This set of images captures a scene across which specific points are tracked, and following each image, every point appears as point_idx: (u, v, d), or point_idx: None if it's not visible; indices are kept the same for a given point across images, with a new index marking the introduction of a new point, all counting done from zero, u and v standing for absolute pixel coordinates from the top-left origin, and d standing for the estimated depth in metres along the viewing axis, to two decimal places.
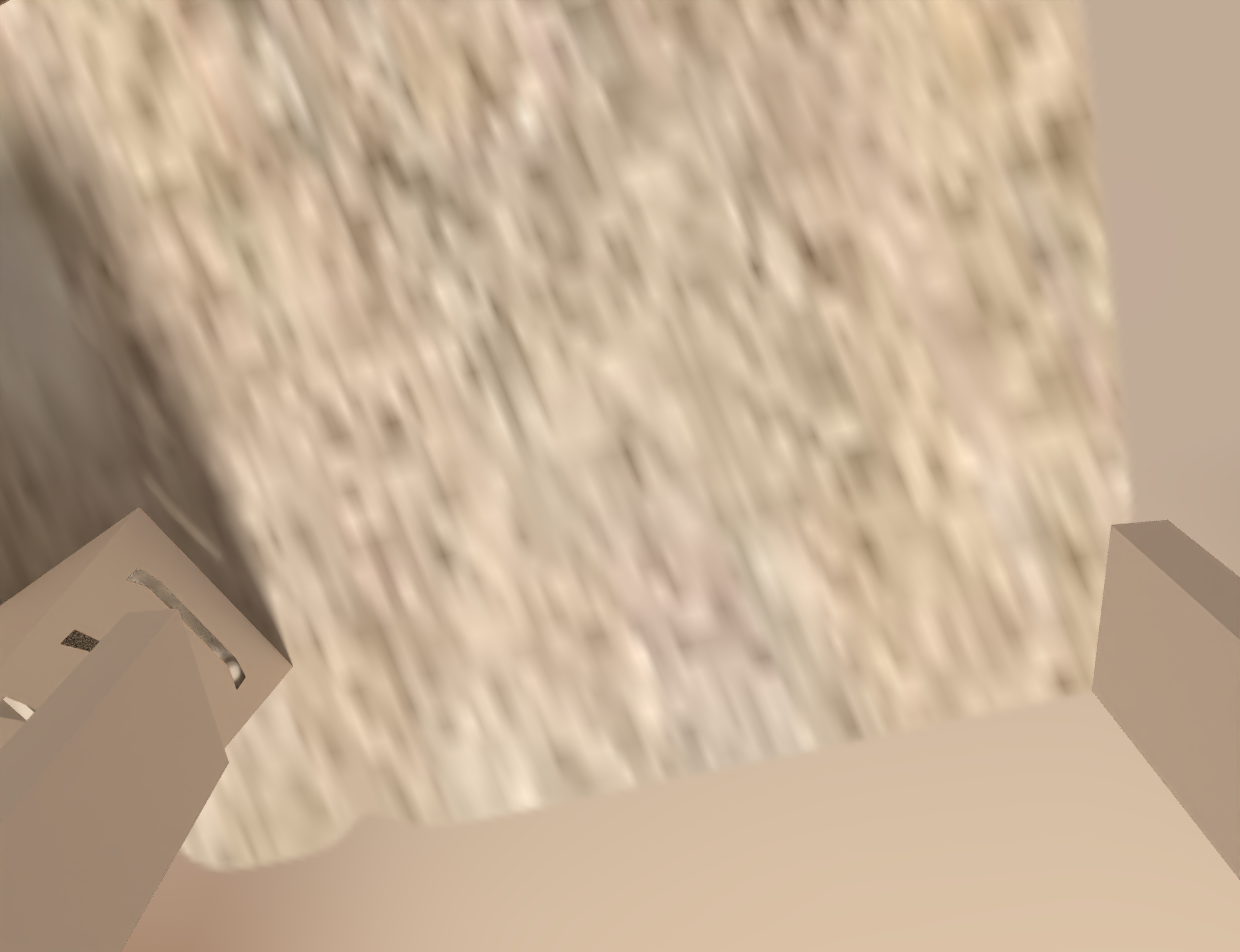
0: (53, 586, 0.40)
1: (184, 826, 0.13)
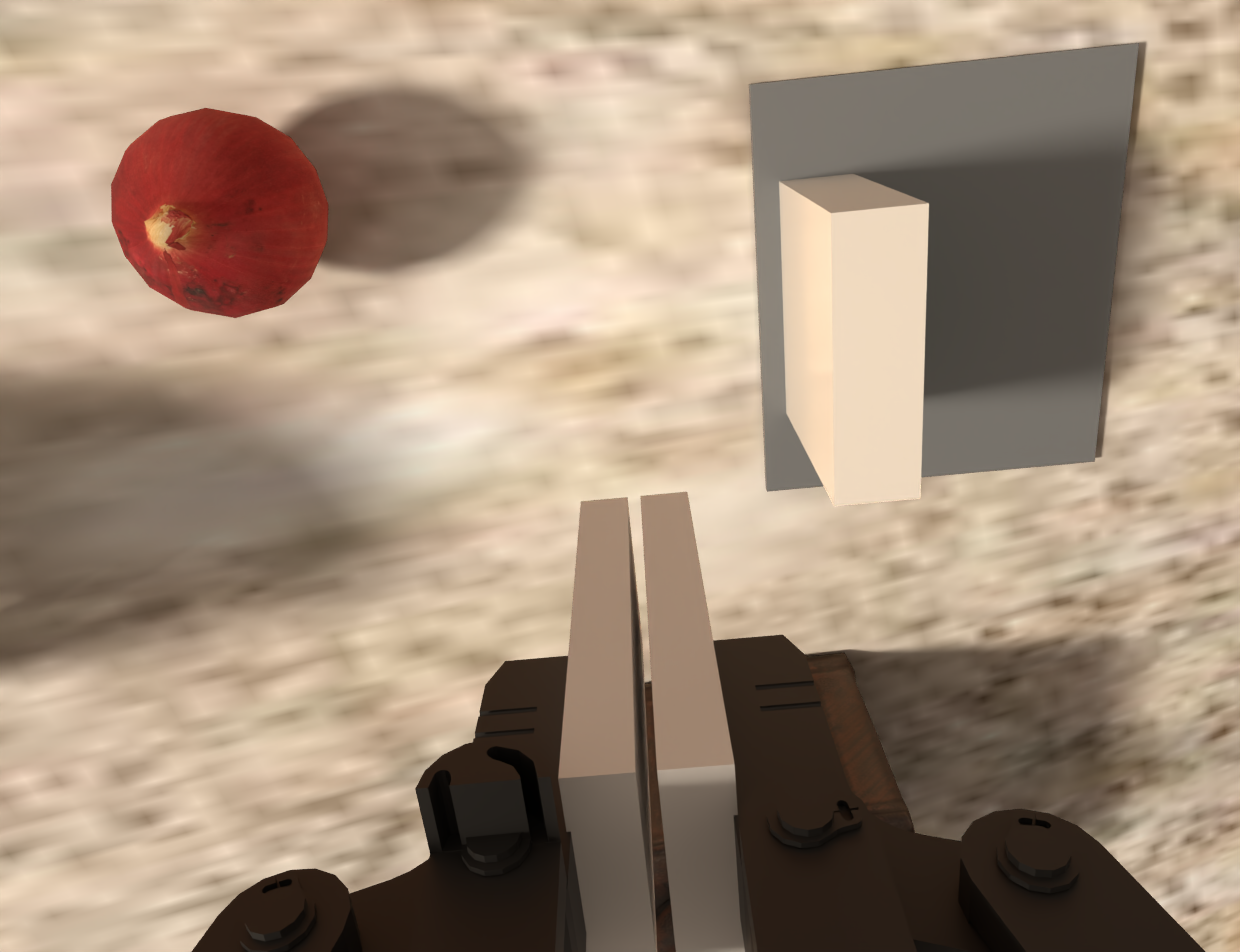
0: None
1: None
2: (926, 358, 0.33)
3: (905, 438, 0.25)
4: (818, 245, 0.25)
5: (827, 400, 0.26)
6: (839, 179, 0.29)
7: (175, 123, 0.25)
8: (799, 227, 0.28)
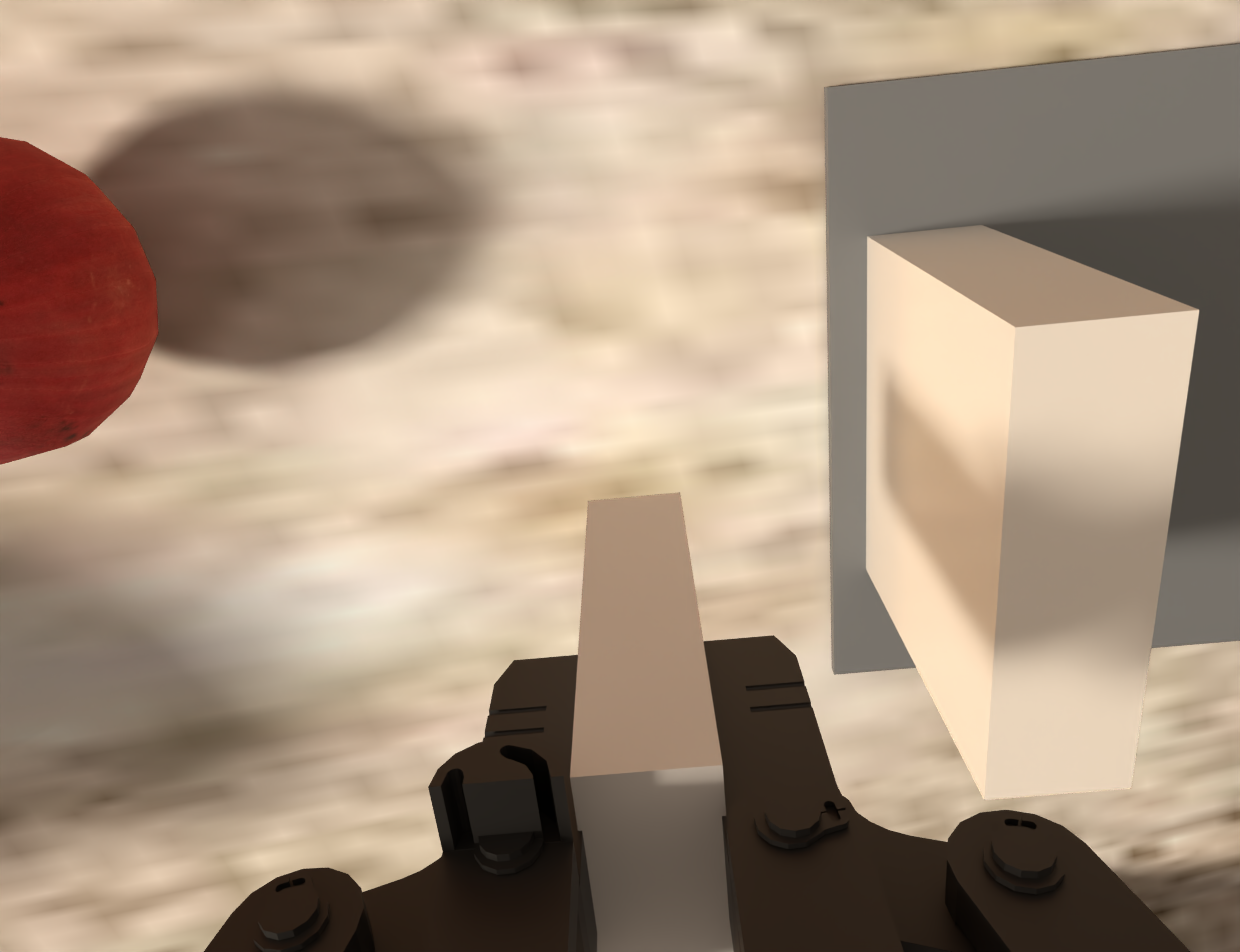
0: None
1: None
2: None
3: (1115, 698, 0.15)
4: (968, 368, 0.14)
5: (977, 627, 0.15)
6: (967, 237, 0.19)
7: None
8: (915, 320, 0.17)
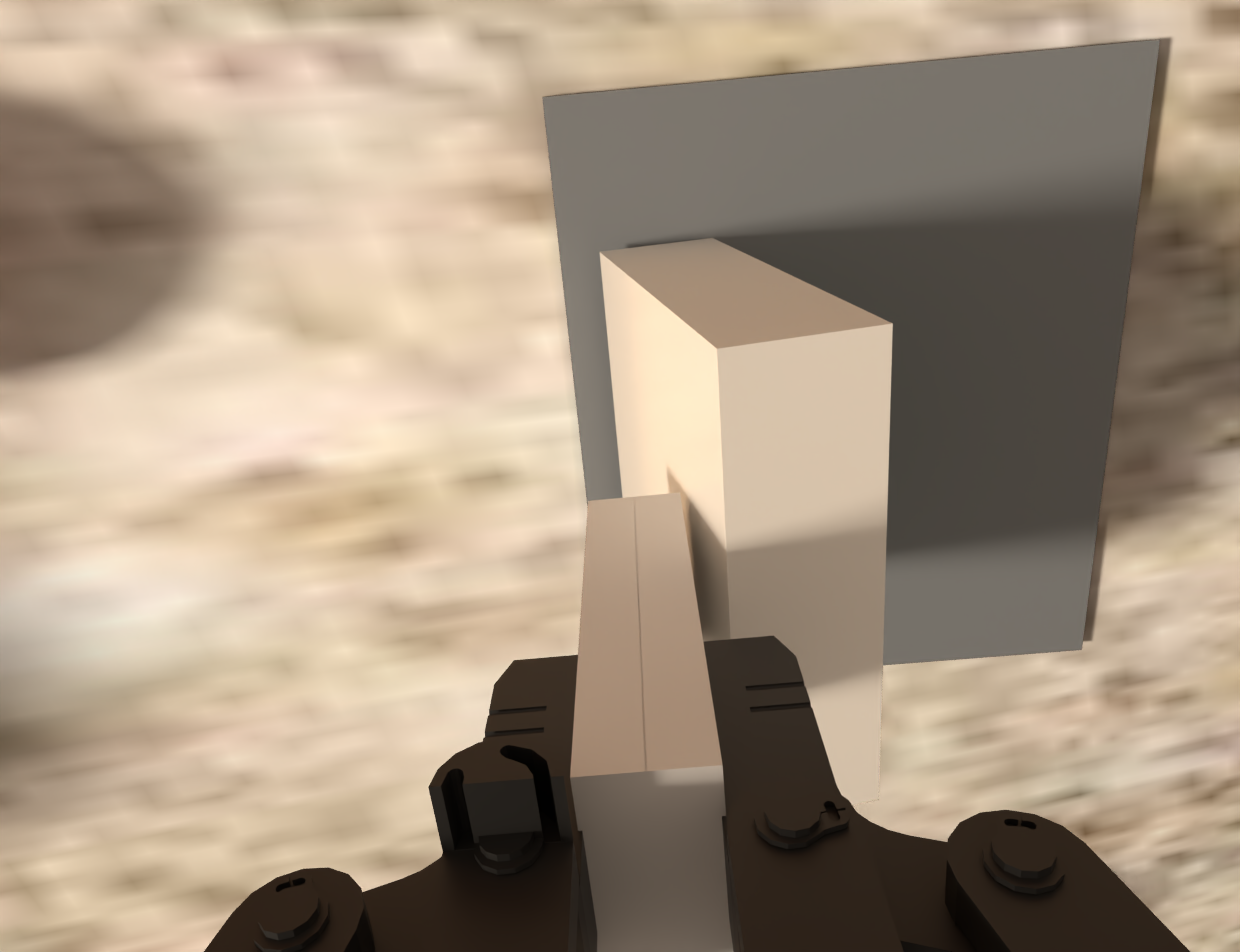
0: None
1: None
2: None
3: (854, 713, 0.15)
4: (686, 389, 0.14)
5: None
6: (696, 250, 0.18)
7: None
8: (642, 339, 0.16)
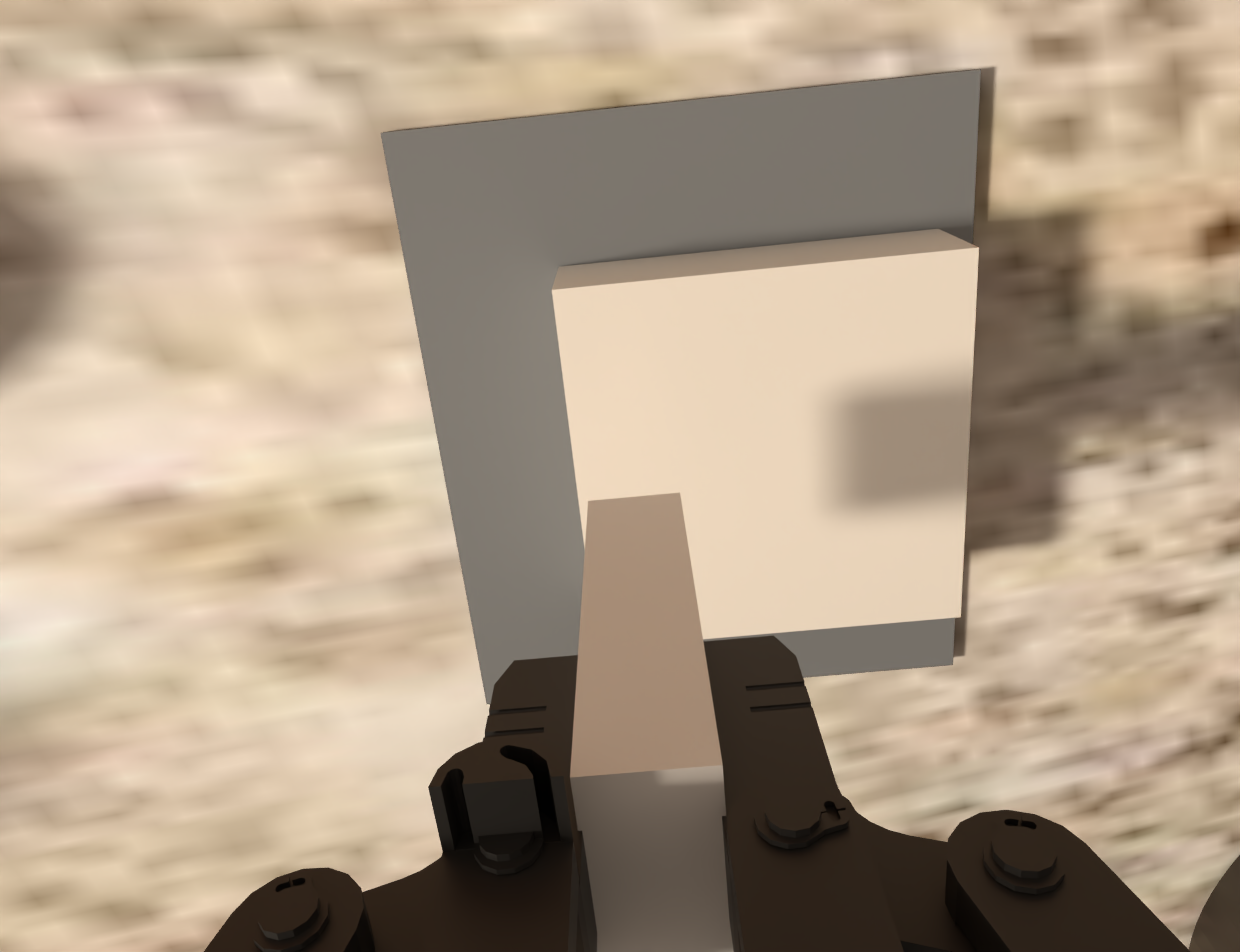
0: None
1: None
2: None
3: None
4: (886, 312, 0.18)
5: (930, 500, 0.19)
6: (617, 266, 0.19)
7: None
8: (742, 322, 0.18)
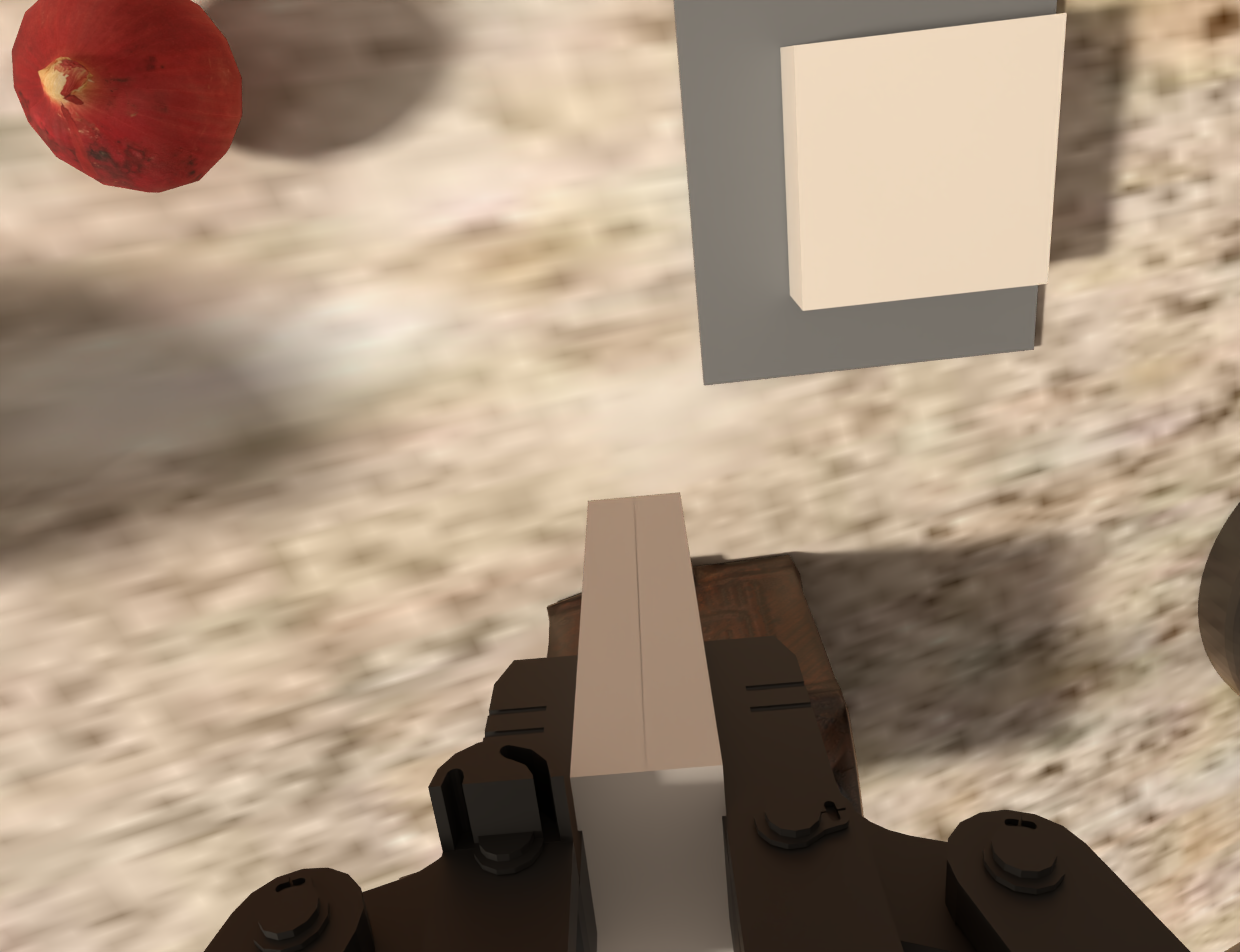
0: None
1: None
2: None
3: None
4: (1006, 58, 0.28)
5: (1030, 195, 0.30)
6: None
7: None
8: (914, 66, 0.28)
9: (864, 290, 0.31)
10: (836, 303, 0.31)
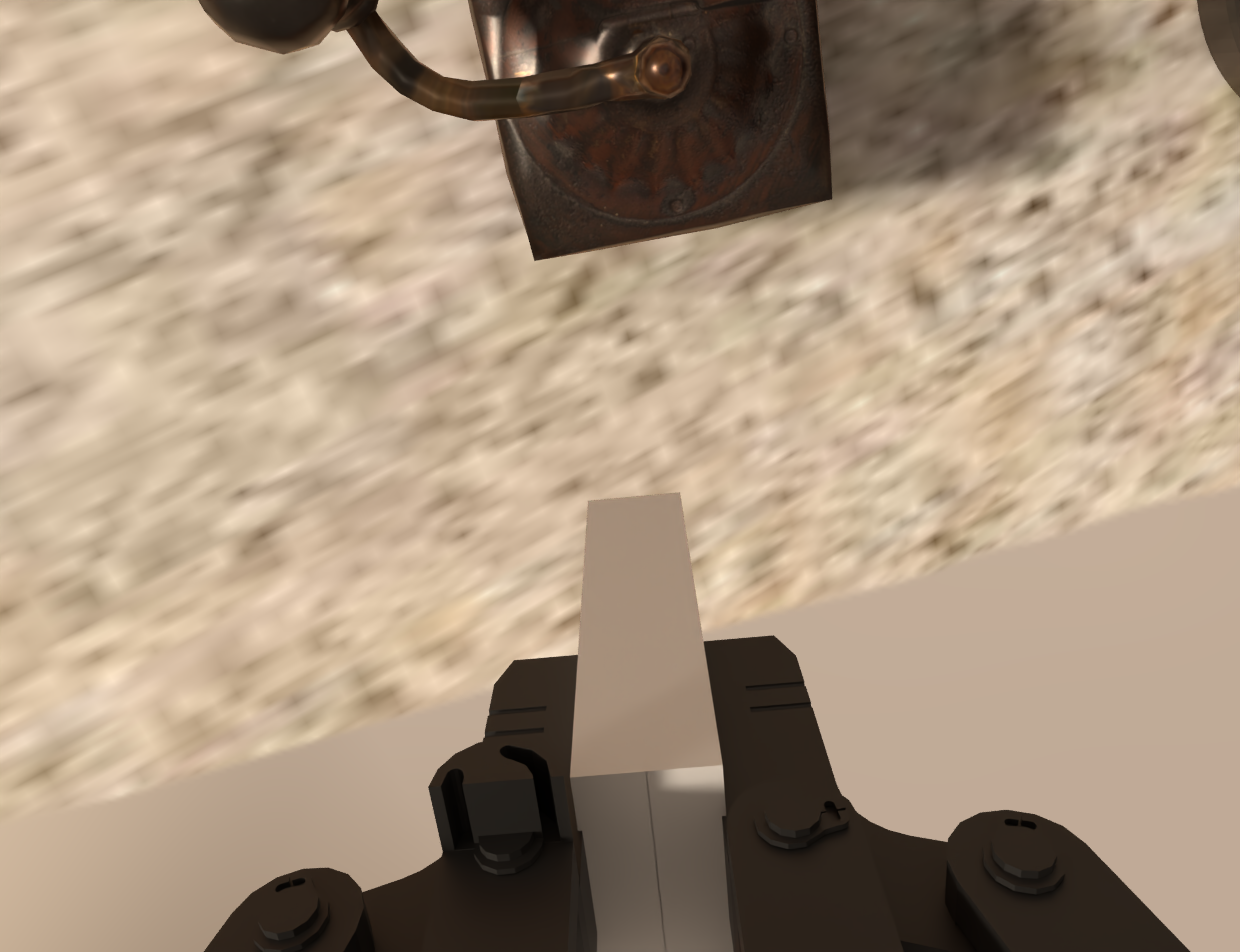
0: None
1: None
2: None
3: None
4: None
5: None
6: None
7: None
8: None
9: None
10: None
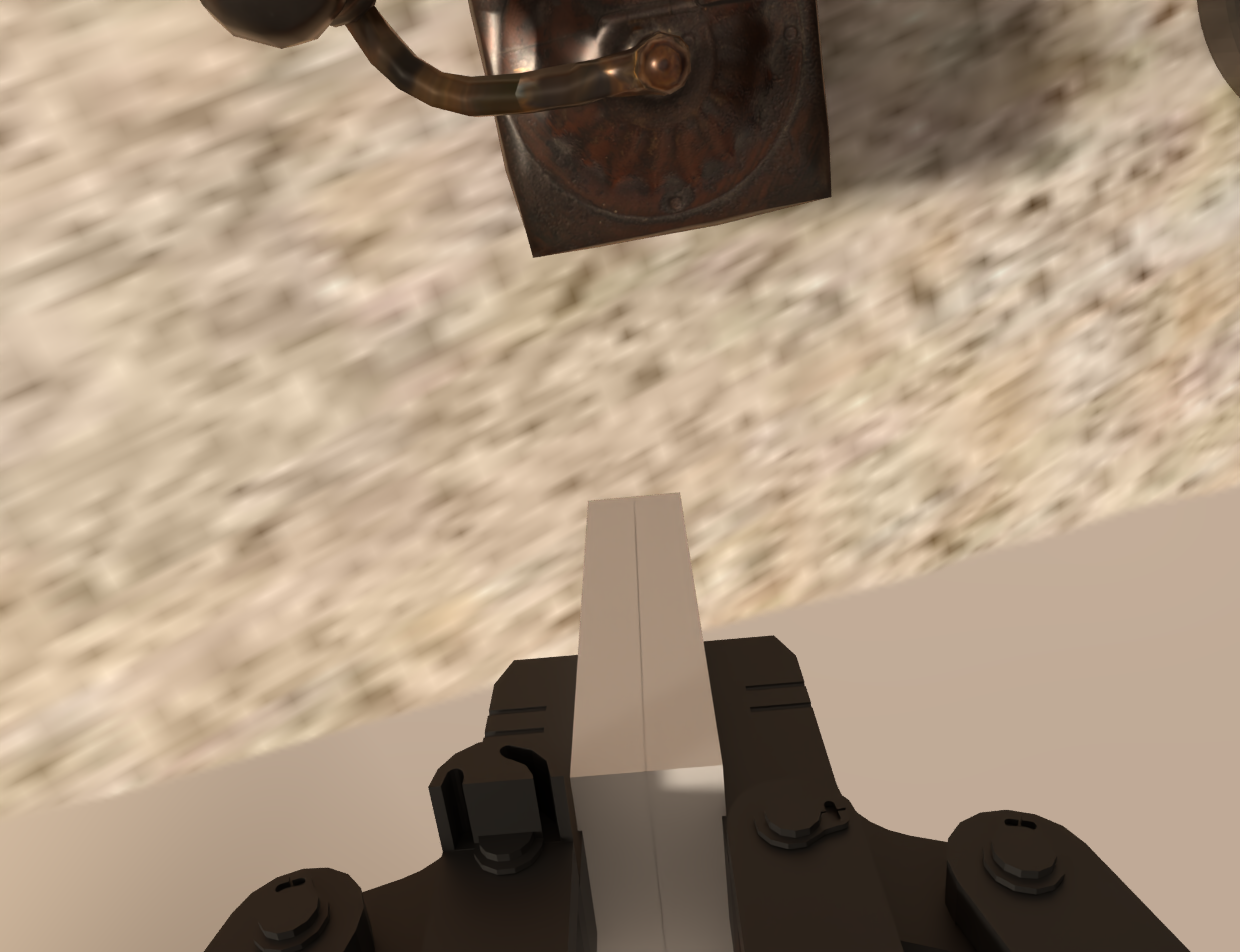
0: None
1: None
2: None
3: None
4: None
5: None
6: None
7: None
8: None
9: None
10: None
